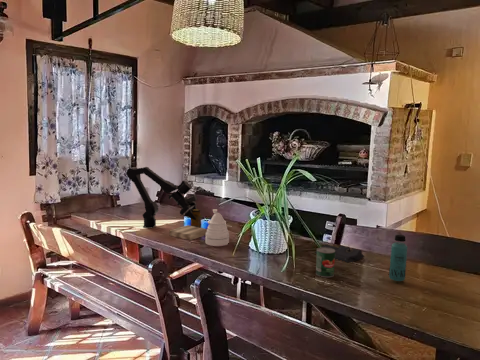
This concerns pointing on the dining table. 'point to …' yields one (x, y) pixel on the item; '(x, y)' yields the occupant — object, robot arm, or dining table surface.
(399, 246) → the beverage bottle
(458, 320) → the dining table surface
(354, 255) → the dark slate chunk
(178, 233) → the base board
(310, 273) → the dining table surface
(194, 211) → the condiment
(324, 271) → the canned tomato
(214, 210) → the honey pot
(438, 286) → the dining table surface
